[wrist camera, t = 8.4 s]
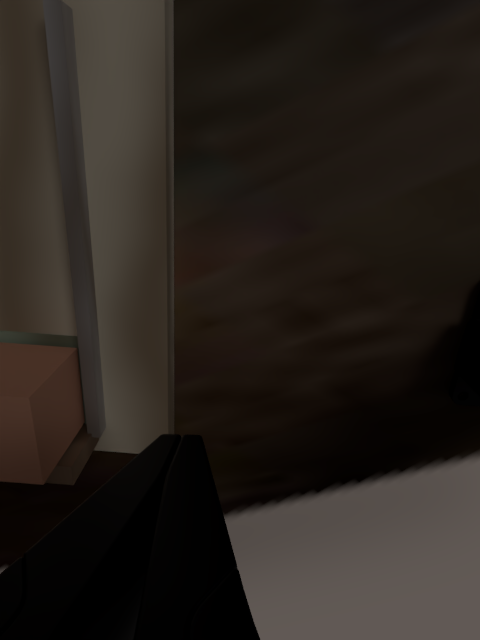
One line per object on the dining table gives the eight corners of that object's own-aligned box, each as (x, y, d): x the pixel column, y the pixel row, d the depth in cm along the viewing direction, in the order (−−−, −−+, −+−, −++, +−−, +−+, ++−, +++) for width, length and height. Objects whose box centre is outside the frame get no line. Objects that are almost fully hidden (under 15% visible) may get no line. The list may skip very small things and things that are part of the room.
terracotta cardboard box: (77, 347, 17) (29, 397, 14) (85, 421, 19) (43, 484, 15) (-12, 341, 18) (-83, 389, 14) (3, 415, 19) (-58, 476, 15)
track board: (173, -22, 14) (137, -102, 10) (174, 436, 21) (154, 503, 17) (-160, -42, 14) (-337, -130, 10) (-43, 420, 21) (-115, 482, 17)
